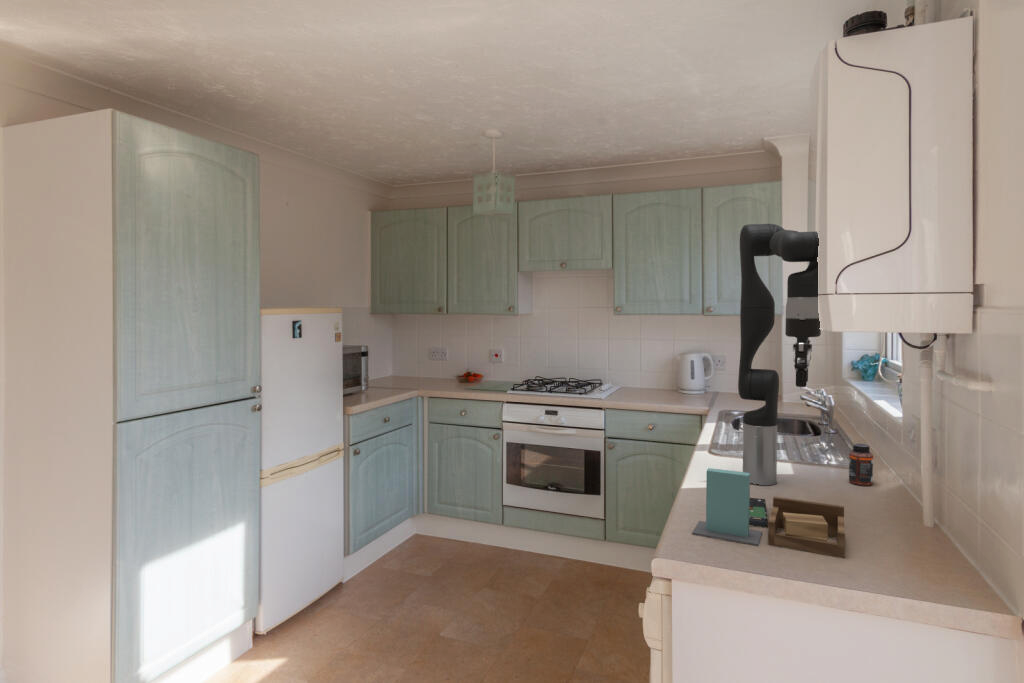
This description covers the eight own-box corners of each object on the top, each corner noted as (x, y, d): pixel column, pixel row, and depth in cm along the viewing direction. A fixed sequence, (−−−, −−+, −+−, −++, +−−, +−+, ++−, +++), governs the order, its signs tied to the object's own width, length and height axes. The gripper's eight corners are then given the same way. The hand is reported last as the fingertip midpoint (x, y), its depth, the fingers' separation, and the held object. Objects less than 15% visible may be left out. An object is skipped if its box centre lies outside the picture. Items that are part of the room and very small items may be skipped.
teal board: (707, 526, 134) (708, 468, 134) (749, 533, 130) (749, 473, 129) (706, 530, 132) (706, 470, 131) (747, 537, 128) (748, 475, 127)
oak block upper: (782, 525, 129) (782, 512, 129) (822, 529, 126) (822, 515, 126) (786, 534, 124) (786, 520, 124) (827, 538, 122) (827, 524, 121)
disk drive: (722, 504, 152) (721, 524, 138) (722, 494, 152) (721, 512, 138) (765, 509, 148) (768, 529, 134) (765, 498, 148) (768, 518, 134)
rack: (773, 525, 136) (773, 496, 135) (843, 536, 128) (844, 506, 128) (768, 544, 125) (768, 512, 125) (844, 557, 118) (844, 524, 118)
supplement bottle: (877, 485, 164) (878, 446, 163) (861, 487, 162) (862, 448, 162) (859, 479, 170) (860, 441, 169) (843, 481, 168) (844, 443, 167)
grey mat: (699, 522, 138) (699, 520, 138) (762, 533, 131) (762, 531, 131) (692, 534, 131) (692, 532, 131) (758, 546, 124) (758, 544, 124)
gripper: (787, 316, 144) (786, 380, 145) (783, 317, 132) (782, 387, 133) (821, 315, 140) (820, 381, 141) (820, 317, 128) (818, 389, 129)
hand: (801, 384), depth 137 cm, fingers open, 8 cm apart
